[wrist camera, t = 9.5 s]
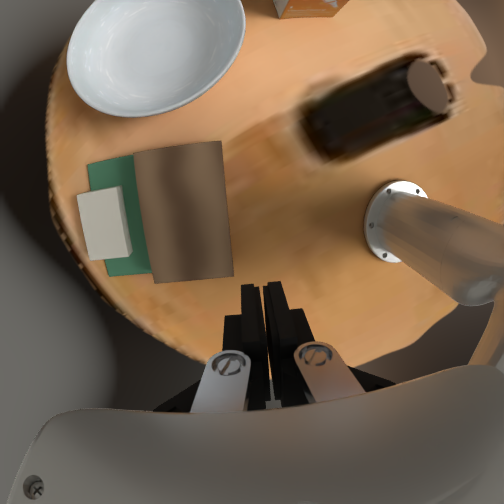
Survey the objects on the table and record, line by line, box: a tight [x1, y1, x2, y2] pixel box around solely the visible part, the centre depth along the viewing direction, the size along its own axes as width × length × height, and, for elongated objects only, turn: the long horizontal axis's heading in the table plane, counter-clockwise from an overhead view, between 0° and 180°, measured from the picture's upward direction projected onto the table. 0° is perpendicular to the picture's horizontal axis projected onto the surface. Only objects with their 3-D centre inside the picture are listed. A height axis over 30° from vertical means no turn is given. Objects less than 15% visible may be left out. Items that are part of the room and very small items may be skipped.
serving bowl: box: [67, 0, 246, 118], centre depth 24 cm, size 21×21×7 cm
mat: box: [88, 155, 152, 277], centre depth 34 cm, size 8×16×1 cm, turn 4°
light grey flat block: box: [77, 185, 133, 261], centre depth 33 cm, size 6×9×2 cm, turn 4°
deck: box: [133, 141, 234, 284], centre depth 33 cm, size 10×16×4 cm, turn 4°
